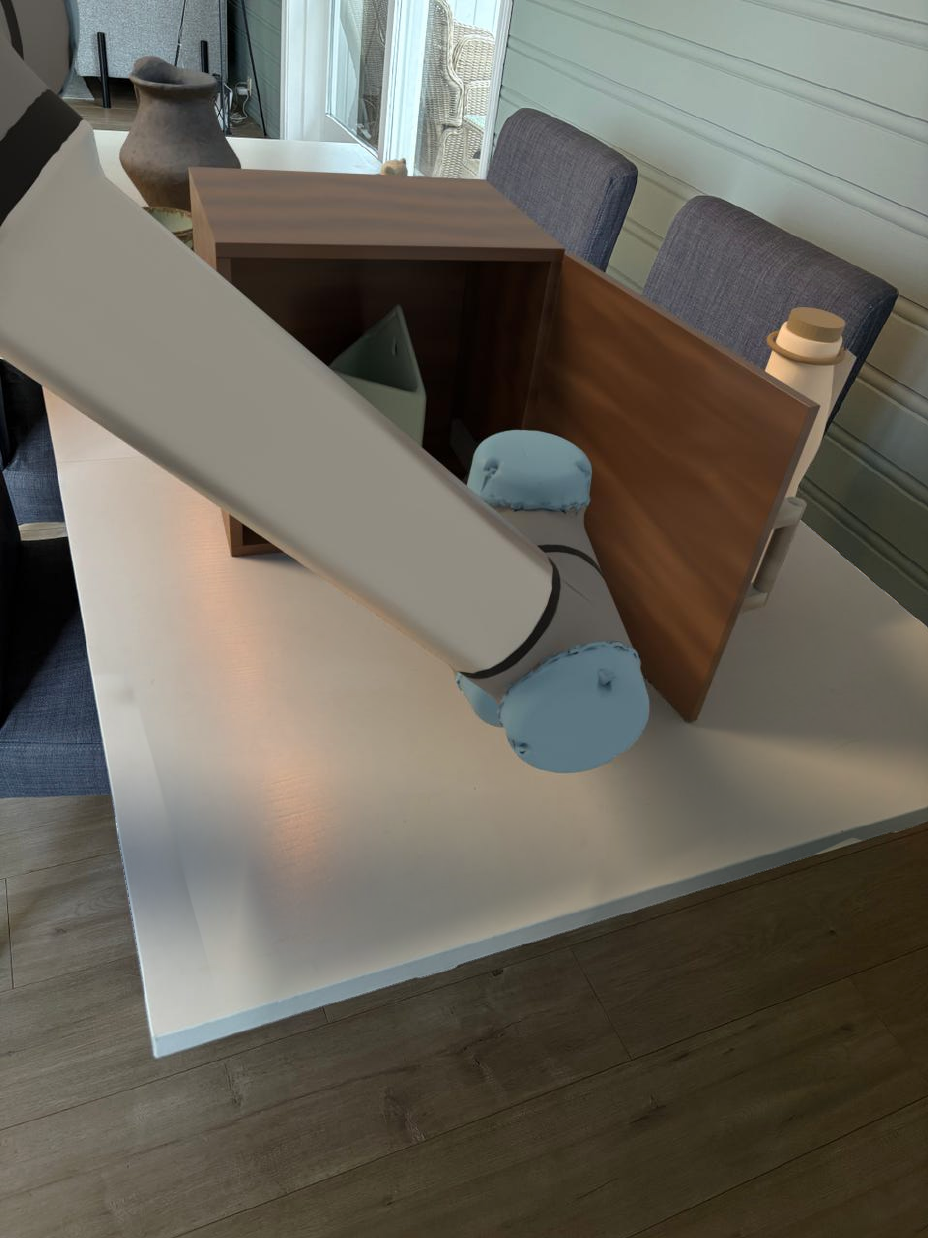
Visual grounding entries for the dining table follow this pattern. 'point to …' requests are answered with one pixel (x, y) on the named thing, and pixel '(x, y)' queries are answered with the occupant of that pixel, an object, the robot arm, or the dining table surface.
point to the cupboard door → (672, 471)
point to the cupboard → (392, 284)
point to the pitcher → (172, 132)
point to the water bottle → (810, 372)
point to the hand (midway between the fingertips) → (387, 434)
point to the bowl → (175, 222)
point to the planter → (387, 373)
